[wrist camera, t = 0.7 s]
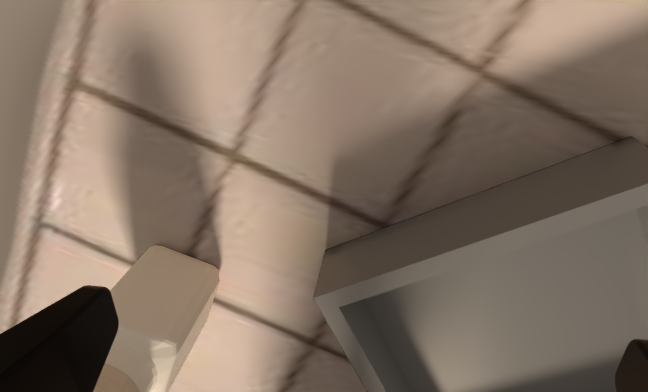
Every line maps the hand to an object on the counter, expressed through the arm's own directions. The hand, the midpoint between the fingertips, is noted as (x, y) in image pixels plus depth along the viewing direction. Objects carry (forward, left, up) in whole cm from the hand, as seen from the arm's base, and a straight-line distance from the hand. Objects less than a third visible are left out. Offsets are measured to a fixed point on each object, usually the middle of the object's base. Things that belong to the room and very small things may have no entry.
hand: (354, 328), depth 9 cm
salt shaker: (-13, -4, -14) cm, 20 cm away
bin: (+2, -12, -14) cm, 19 cm away
